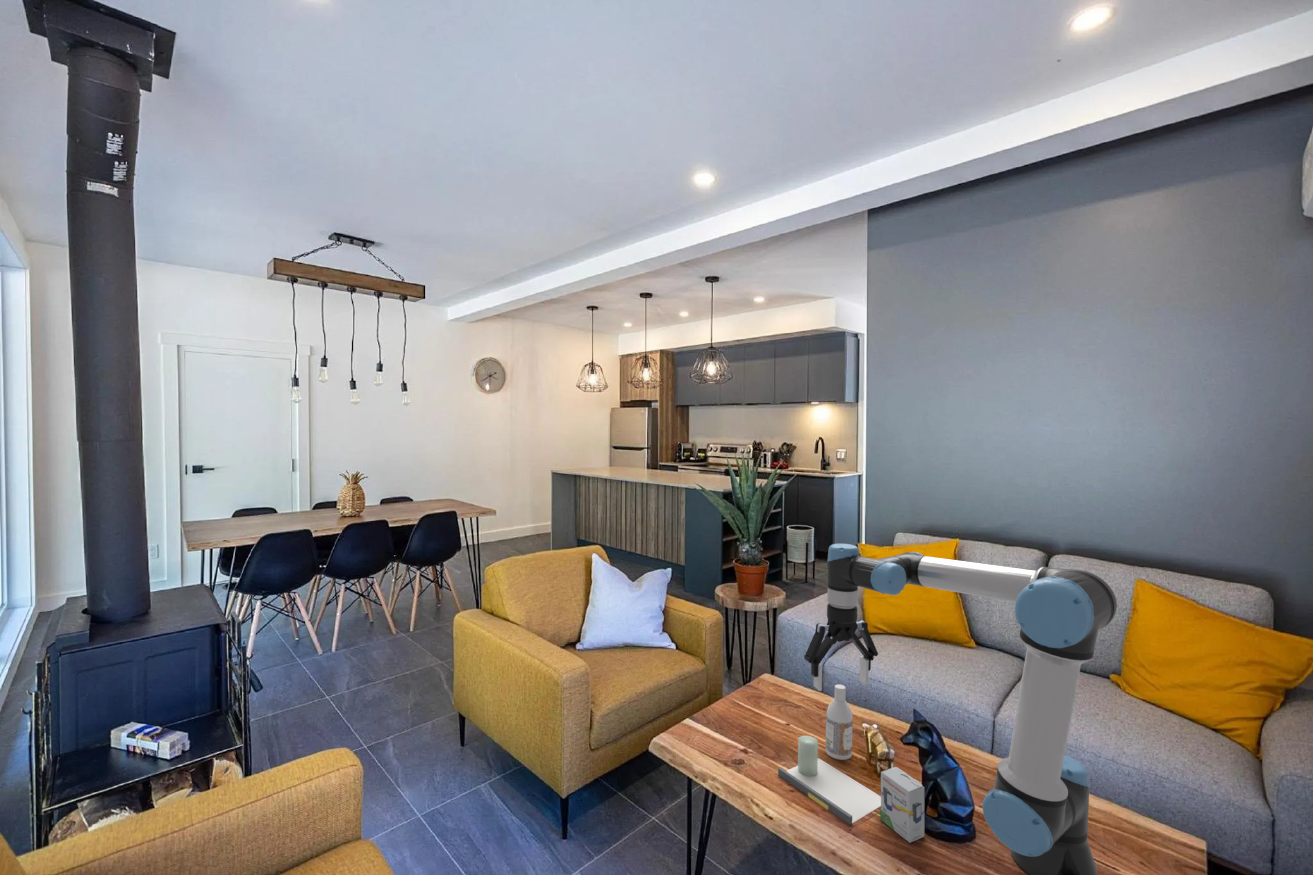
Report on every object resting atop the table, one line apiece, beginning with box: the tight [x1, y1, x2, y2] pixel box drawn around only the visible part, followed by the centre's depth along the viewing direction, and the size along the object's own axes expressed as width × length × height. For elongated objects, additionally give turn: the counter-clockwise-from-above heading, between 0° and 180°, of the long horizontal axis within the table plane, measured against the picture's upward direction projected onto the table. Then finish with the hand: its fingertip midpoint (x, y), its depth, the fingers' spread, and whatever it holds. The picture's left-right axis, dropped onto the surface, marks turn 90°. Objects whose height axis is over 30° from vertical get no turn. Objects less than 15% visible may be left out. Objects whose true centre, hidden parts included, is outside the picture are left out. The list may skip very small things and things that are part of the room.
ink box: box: [880, 766, 925, 844], centre depth 131 cm, size 9×5×12 cm, turn 25°
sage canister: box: [797, 735, 819, 777], centre depth 150 cm, size 5×5×8 cm
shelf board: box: [777, 757, 881, 832], centre depth 143 cm, size 22×15×3 cm
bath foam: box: [825, 684, 854, 761], centre depth 159 cm, size 7×7×20 cm
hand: (841, 685), depth 149 cm, fingers open, 13 cm apart
